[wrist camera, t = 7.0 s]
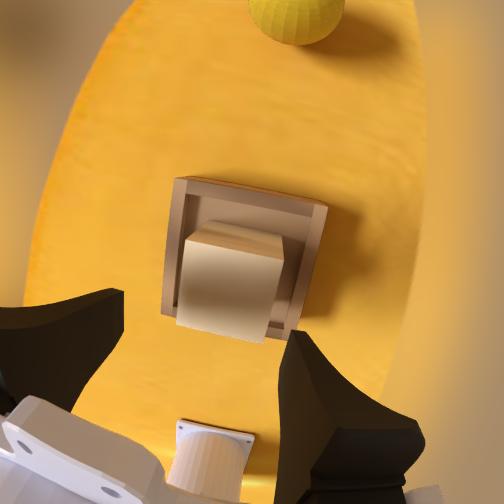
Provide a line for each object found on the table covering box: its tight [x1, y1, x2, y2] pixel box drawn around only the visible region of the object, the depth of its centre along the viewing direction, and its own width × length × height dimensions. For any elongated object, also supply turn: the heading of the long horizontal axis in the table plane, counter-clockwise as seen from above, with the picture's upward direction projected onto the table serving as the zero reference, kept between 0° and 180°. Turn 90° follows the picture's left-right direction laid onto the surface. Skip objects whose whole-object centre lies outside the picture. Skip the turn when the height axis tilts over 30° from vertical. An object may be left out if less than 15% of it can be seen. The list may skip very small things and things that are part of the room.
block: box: [176, 220, 284, 344], centre depth 16 cm, size 4×4×5 cm
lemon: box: [248, 0, 345, 45], centre depth 13 cm, size 6×6×8 cm
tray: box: [161, 176, 328, 341], centre depth 20 cm, size 9×9×3 cm
